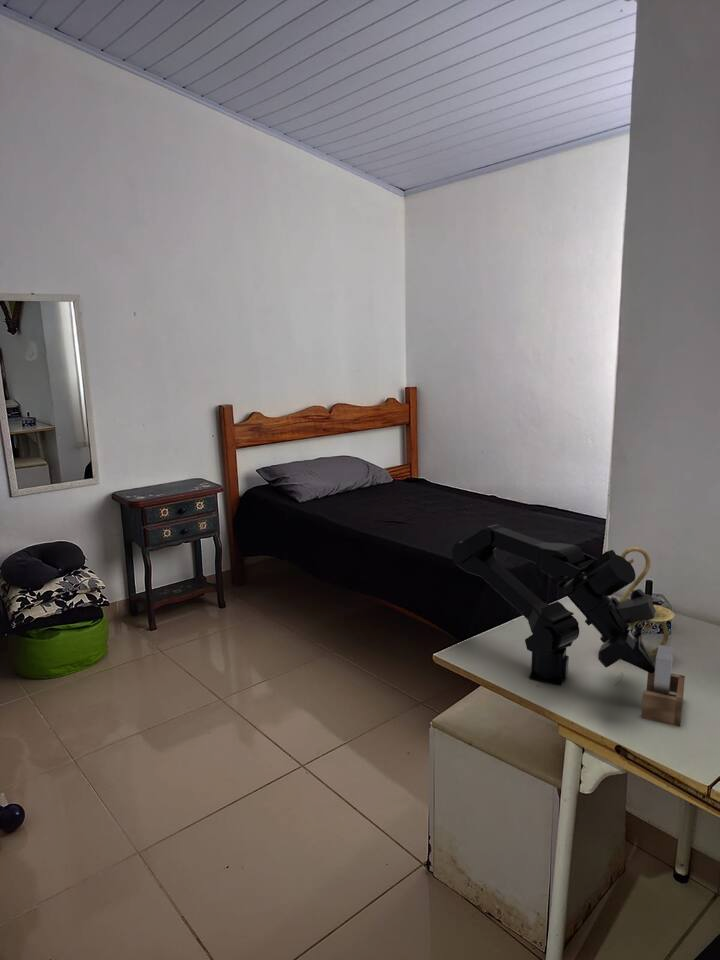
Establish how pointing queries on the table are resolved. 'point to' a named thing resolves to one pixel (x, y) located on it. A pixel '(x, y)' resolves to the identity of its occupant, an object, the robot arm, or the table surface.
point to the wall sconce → (661, 612)
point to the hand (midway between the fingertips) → (654, 671)
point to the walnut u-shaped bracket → (663, 701)
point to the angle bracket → (663, 671)
